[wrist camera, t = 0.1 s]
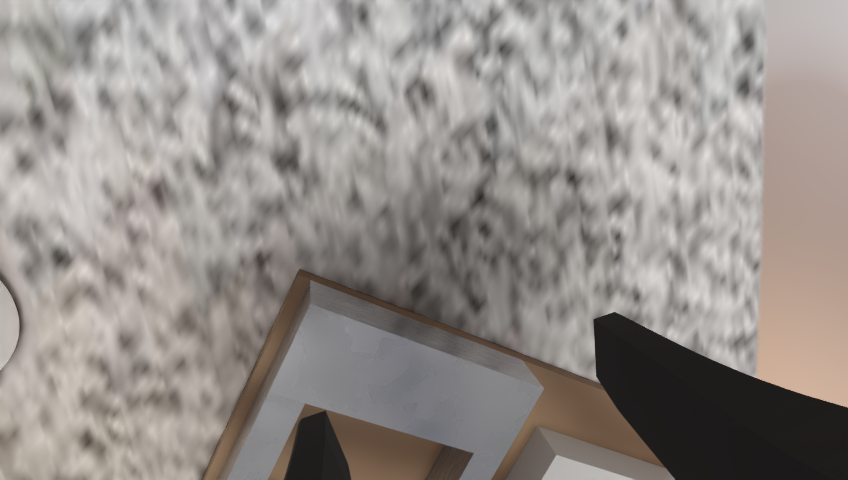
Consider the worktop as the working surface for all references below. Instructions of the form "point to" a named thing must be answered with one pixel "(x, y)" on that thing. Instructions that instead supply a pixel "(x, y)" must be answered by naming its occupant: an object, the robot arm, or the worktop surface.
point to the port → (386, 387)
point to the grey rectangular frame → (578, 461)
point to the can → (7, 325)
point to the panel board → (414, 456)
